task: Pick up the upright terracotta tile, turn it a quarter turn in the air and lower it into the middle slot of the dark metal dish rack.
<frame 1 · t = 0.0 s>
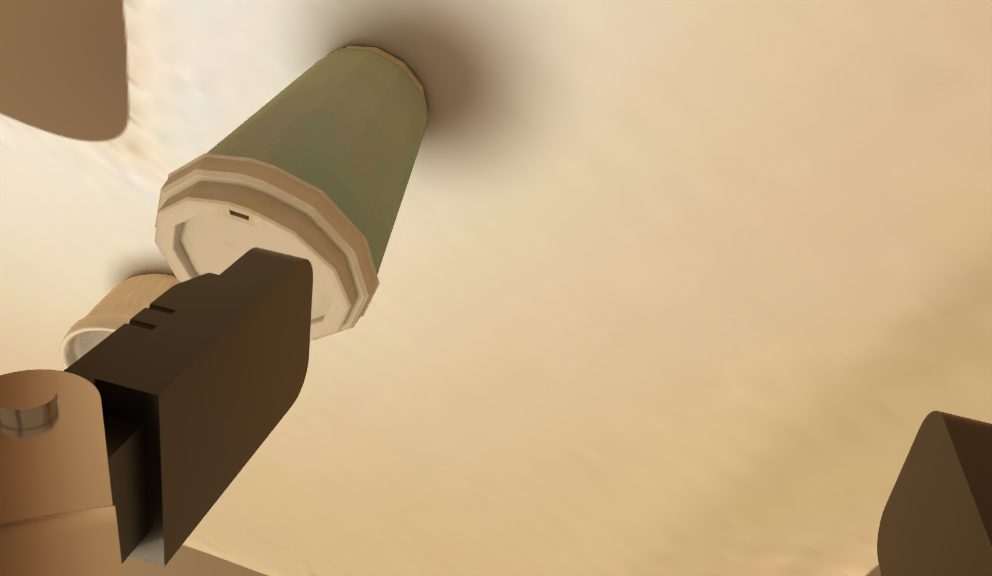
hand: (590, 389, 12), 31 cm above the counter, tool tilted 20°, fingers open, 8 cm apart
ramekin: (190, 317, 71), on the counter
disposable coffee cup: (370, 90, 50), on the counter
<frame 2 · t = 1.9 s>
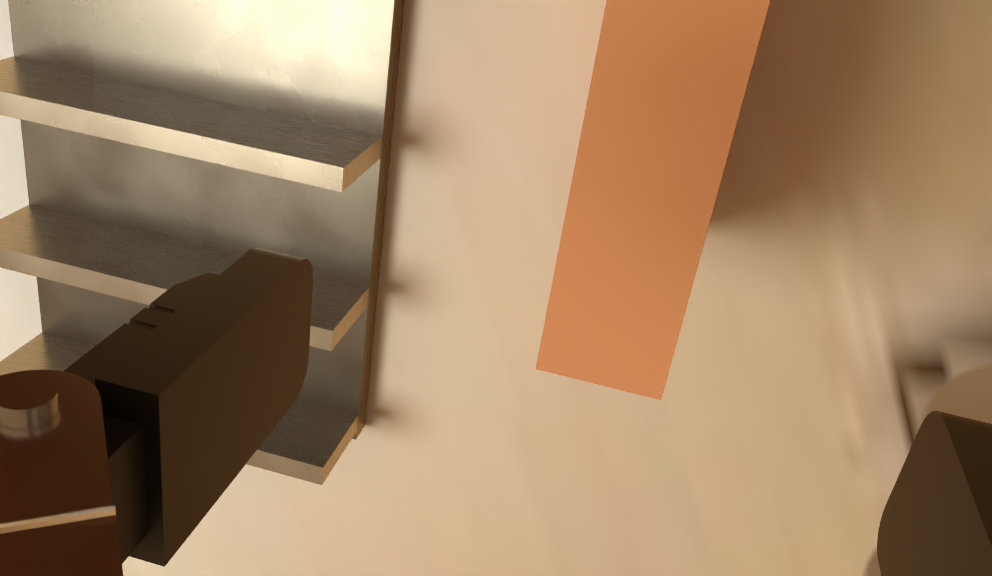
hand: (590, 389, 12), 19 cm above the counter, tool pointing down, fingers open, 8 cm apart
dish rack: (207, 174, 34), on the counter
terracotta tile: (673, 73, 29), on the counter
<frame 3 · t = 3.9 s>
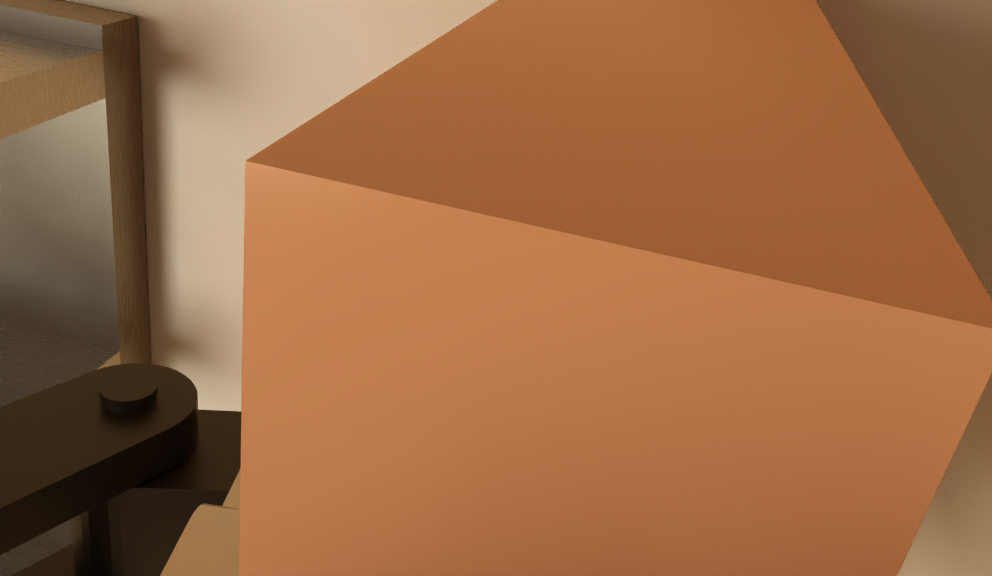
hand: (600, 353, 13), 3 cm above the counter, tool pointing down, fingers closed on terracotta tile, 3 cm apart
terracotta tile: (625, 263, 15), on the counter, touching gripper
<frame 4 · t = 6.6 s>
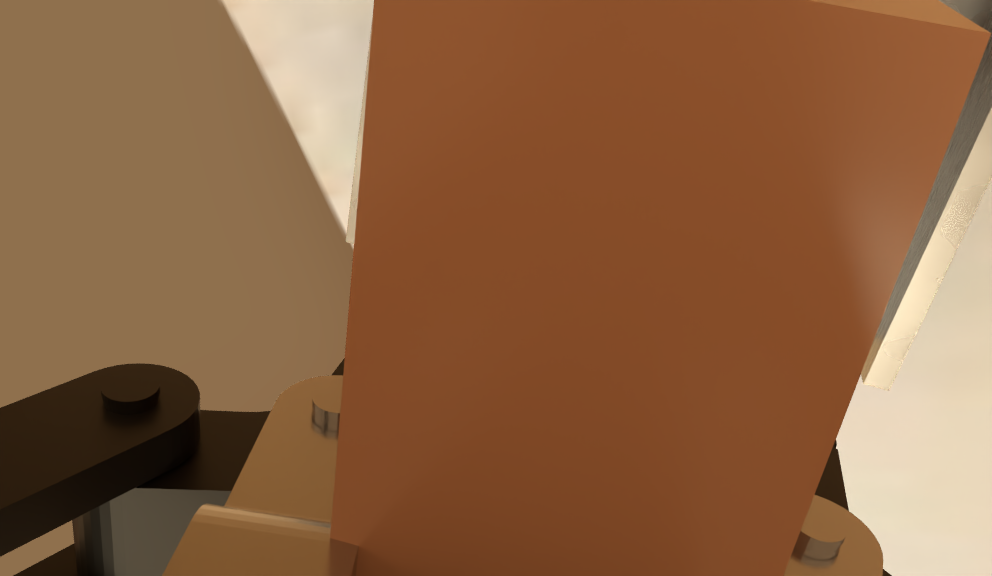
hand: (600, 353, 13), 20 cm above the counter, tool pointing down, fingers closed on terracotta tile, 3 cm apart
dish rack: (674, 73, 30), on the counter
terracotta tile: (640, 199, 16), point 15 cm above the counter, touching gripper
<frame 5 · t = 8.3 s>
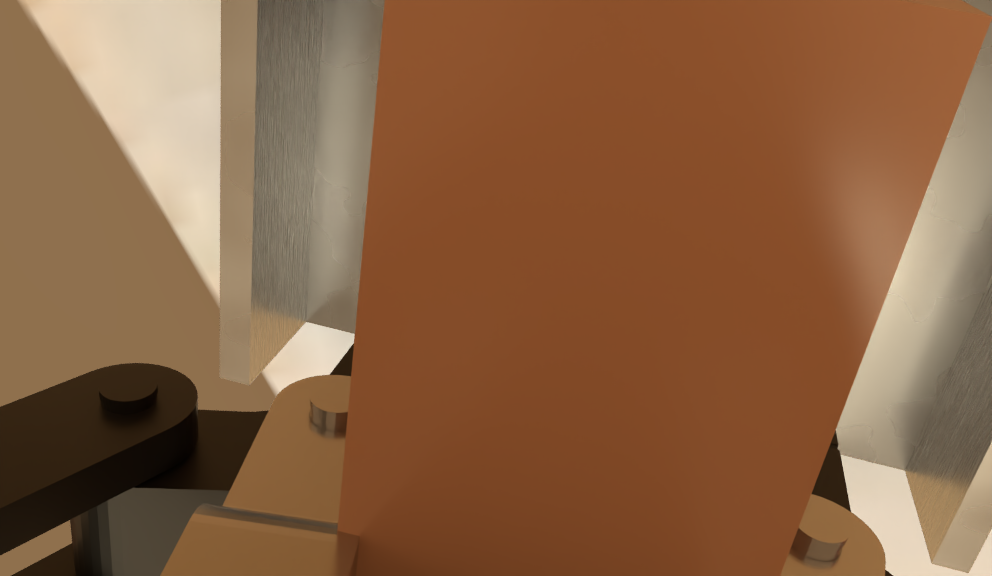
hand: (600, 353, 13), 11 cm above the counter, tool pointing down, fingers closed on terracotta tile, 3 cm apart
dish rack: (651, 136, 22), on the counter
terracotta tile: (641, 196, 16), point 6 cm above the counter, touching gripper
when the fingers open (6 cm above the counter, at t = 9.5 s): terracotta tile stays where it is, resting on dish rack.
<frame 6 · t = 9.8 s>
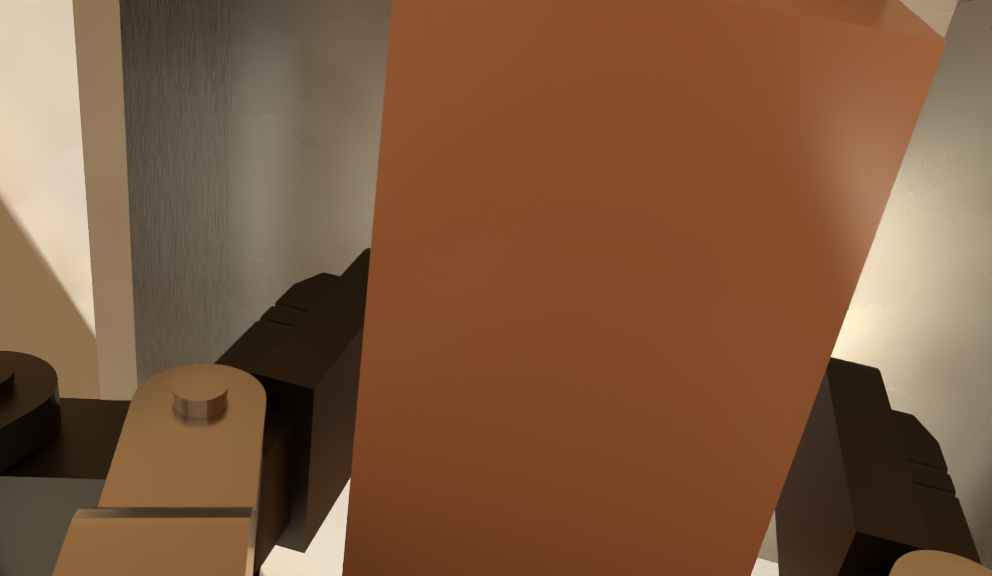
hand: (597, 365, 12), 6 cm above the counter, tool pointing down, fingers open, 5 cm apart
dish rack: (638, 204, 18), on the counter
terracotta tile: (639, 187, 17), point 1 cm above the counter, touching dish rack
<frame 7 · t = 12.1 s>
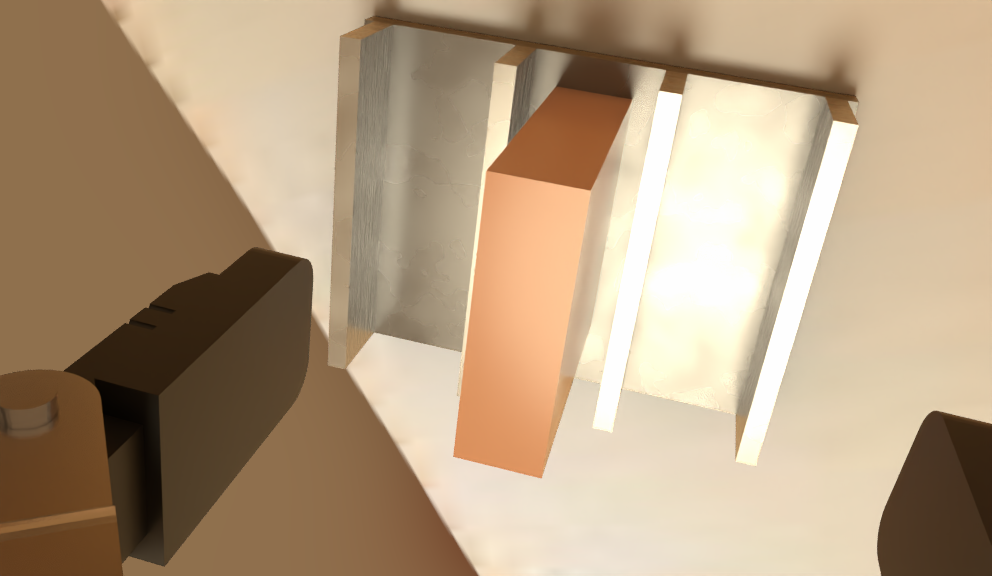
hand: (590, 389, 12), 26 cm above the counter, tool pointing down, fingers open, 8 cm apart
dish rack: (576, 220, 38), on the counter
terracotta tile: (574, 212, 37), point 1 cm above the counter, touching dish rack
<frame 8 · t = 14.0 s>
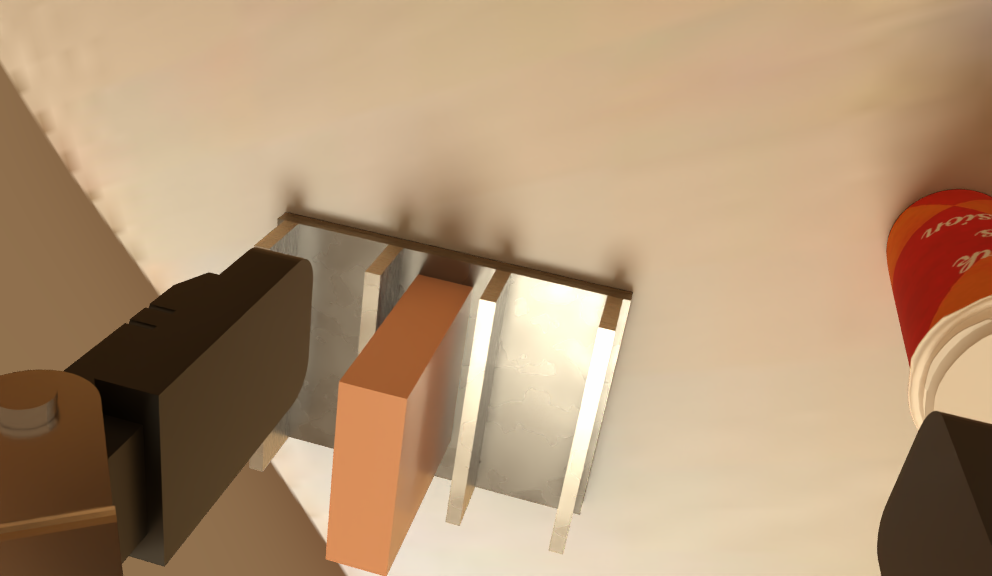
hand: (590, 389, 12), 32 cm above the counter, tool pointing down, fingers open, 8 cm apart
dish rack: (439, 363, 51), on the counter
paper cup: (948, 243, 42), on the counter
terracotta tile: (435, 361, 50), point 1 cm above the counter, touching dish rack
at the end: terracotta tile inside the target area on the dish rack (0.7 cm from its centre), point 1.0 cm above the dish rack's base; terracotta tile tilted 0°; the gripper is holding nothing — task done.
